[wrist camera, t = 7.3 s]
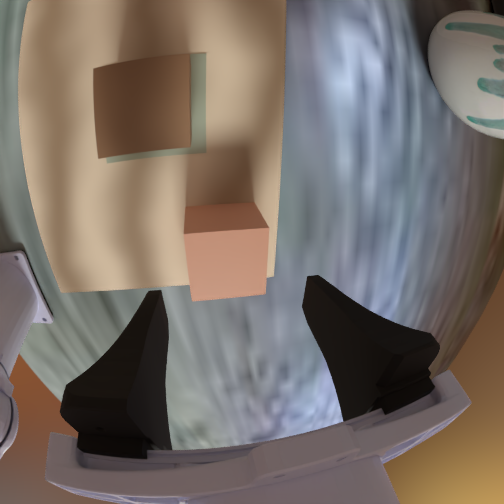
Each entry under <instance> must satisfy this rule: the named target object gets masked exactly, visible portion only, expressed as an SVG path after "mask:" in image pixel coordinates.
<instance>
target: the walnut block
mask: <svg viewBox="0 0 504 504" xmlns="http://www.w3.org/2000/svg"><path fill="white" fill-rule="evenodd" d="M93 101H94V121H95V134H96V144H97V154H98V159H101V158H107V157H113V156H119V155H126V154H133V153H140V152H148V151H157V150H166V149H177V148H188V147H191V140H192V125H191V60H190V53H189V54H176V55H166V56H157V57H149V58H143V59H136V60H130V61H125V62H120V63H115V64H110V65H106V66H101V67H97V68H93Z"/></svg>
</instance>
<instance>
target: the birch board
mask: <svg viewBox="0 0 504 504" xmlns="http://www.w3.org/2000/svg"><path fill="white" fill-rule="evenodd" d="M285 49H286V0H32V1H30V2H28V5H27V10H26V15H25V20H24V26H23V33H22V40H21V49H20V60H19V81H18V101H19V123H20V135H21V144H22V152H23V160H24V166H25V172H26V178H27V183H28V188H29V193H30V197H31V202H32V206H33V210H34V214H35V218H36V221H37V225H38V228H39V232H40V235H41V238H42V242H43V245H44V248H45V251H46V254H47V257H48V260H49V262H50V265H51V268H52V270H53V273H54V276H55V278H56V281H57V283H58V286H59V288H60V291H61V293H67V292H87V291H106V290H122V289H137V288H152V287H165V286H178V285H190V283H189V276H188V268H187V260H186V251H185V242H184V219H185V207H188V206H201V205H215V204H231V203H250V202H255V204H256V206H257V207H258V209H259V211H260V212H261V214H262V216H263V218H264V219H265V221H266V223H267V225H268V226H269V244H268V261H267V277H274V265H275V252H276V238H277V223H278V208H279V192H280V175H281V156H282V136H283V113H284V86H285ZM189 53H190V60H191V125H192V140H191V147H188V148H177V149H166V150H157V151H148V152H140V153H133V154H126V155H119V156H113V157H107V158H101V159H98V154H97V144H96V134H95V121H94V101H93V68H97V67H101V66H106V65H110V64H115V63H120V62H125V61H130V60H136V59H143V58H149V57H157V56H166V55H176V54H189Z"/></svg>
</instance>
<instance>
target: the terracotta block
mask: <svg viewBox="0 0 504 504" xmlns="http://www.w3.org/2000/svg"><path fill="white" fill-rule="evenodd" d="M184 242H185V251H186V260H187V268H188V276H189V283H190V290H191V297H192V301H202V300H213V299H223V298H234V297H243V296H253V295H262V294H265V293H266V277H267V261H268V244H269V226H268V225H267V223H266V221H265V219H264V218H263V216H262V214H261V212H260V211H259V209H258V207H257V206H256V204H255V202H250V203H231V204H215V205H201V206H188V207H185V219H184Z"/></svg>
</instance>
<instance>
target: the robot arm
mask: <svg viewBox="0 0 504 504" xmlns="http://www.w3.org/2000/svg"><path fill="white" fill-rule="evenodd" d="M17 256H18V257H17ZM302 308H303V311H304V314H305V317H306V320H307V323H308V325H309V327H310V329H311V331H312V333H313V335H314V337H315V339H316V341H317V343H318V345H319V347H320V349H321V351H322V353H323V355H324V358H325V360H326V362H327V365H328V368H329V371H330V374H331V376H332V380H333V383H334V386H335V389H336V393H337V396H338V400H339V404H340V408H341V412H342V417H343V422H341V423H338V424H335V425H331V426H328V427H325V428H321V429H318V430H314V431H310V432H306V433H302V434H298V435H294V436H289V437H285V438H280V439H275V440H270V441H264V442H259V443H252V444H246V445H239V446H231V447H221V448H210V449H196V450H172V446H171V439H170V432H169V424H168V415H167V404H166V387H165V378H166V364H167V352H168V341H169V330H168V318H167V314H166V309H165V305H164V301H163V296H162V292H161V290H155V291H148V293H147V294H146V296H145V298H144V300H143V301H142V303H141V305H140V306H139V308H138V310H137V311H136V313H135V315H134V316H133V318H132V319H131V321H130V322H129V324H128V325H127V327H126V328H125V330H124V331H123V332H122V334H121V335H120V336H119V338H118V339H117V340H116V342H115V343H114V344H113V345H112V346H111V347H110V349H109V350H108V351H107V352H106V353H105V354H104V355H103V356H102V357H101V358H100V359H99V360H98V361H97V362H96V363H95V364H93V365H92V366H91V367H90V368H89V369H88V370H86V371H85V372H84V373H83V374H81V375H80V376H78V377H77V378H76V379H74V380H73V381H71V382H70V383H68V384H67V385H66V388H65V390H64V394H63V399H62V403H61V409H60V413H61V416H62V417H63V418H64V420H65V421H66V422H67V423H69V424H70V425H71V426H72V427H73V428H74V429H75V430H76V431H77V432H79V433H78V439H77V438H75V437H73V436H69V435H64V434H59V433H54V432H51V433H50V439H49V445H48V453H47V461H46V472H45V480H46V481H48V482H50V483H52V484H54V485H56V486H58V487H60V488H63V489H65V490H67V491H70V492H72V493H75V494H77V495H82V496H86V497H90V498H95V499H100V500H105V501H110V502H116V503H121V504H400V503H399V500H398V498H397V496H396V493H395V491H394V489H393V487H392V484H391V482H390V480H389V477H388V475H387V473H386V471H385V468H384V466H383V463H385V462H387V461H389V460H391V459H393V458H395V457H397V456H399V455H401V454H402V453H404V452H406V451H407V450H409V449H411V448H413V447H414V446H416V445H418V444H420V443H421V442H423V441H424V440H426V439H428V438H429V437H431V436H432V435H434V434H435V433H437V432H439V431H440V430H442V429H443V428H444V427H446V426H447V425H448V424H449V423H451V422H452V421H453V420H454V419H455V418H456V417H457V416H459V415H460V414H461V413H462V412H463V411H464V410H465V409H466V408H467V407H468V406H469V405H470V404H471V401H470V399H469V398H468V396H467V394H466V393H465V392H464V390H463V388H462V387H461V386H460V384H459V383H458V381H457V380H456V378H455V377H454V375H453V374H452V373H451V371H450V370H447V371H445V372H444V373H442V374H440V375H438V376H436V377H435V378H434V379H432V380H431V379H430V378H429V376H430V375H431V372H430V371H429V369H428V368H429V366H430V365H431V363H432V362H433V361H434V359H435V358H436V356H437V354H438V352H439V350H440V345H439V343H438V342H437V341H436V339H435V338H434V337H433V336H432V334H431V333H427V332H423V331H419V330H415V329H412V328H409V327H406V326H403V325H400V324H397V323H395V322H392V321H390V320H388V319H385V318H383V317H381V316H379V315H377V314H375V313H373V312H372V311H370V310H368V309H366V308H365V307H363V306H361V305H360V304H358V303H357V302H355V301H354V300H352V299H351V298H349V297H348V296H346V295H345V294H344V293H342V292H341V291H339V290H338V289H337V288H335V287H334V286H333V285H331V284H330V283H329V282H327V281H326V280H325V279H323V278H322V277H320V276H319V275H314V276H307V281H306V287H305V293H304V299H303V304H302ZM52 322H53V316H52V314H51V312H50V310H49V308H48V306H47V304H46V302H45V300H44V298H43V296H42V294H41V291H40V289H39V287H38V285H37V282H36V280H35V277H34V275H33V273H32V270H31V268H30V265H29V262H28V260H27V257H26V255H25V253H24V252H23V251H13V252H5V253H0V459H1V457H2V455H3V454H4V453H5V451H6V450H7V449H8V448H9V447H10V446H11V445H12V443H13V441H14V439H15V437H16V434H17V430H18V408H17V404H16V402H15V400H14V399H13V398H12V396H11V395H12V392H13V388H14V386H13V385H12V384H11V383H10V381H9V377H10V375H11V372H12V369H13V366H14V364H15V361H16V359H17V356H18V354H19V351H20V349H21V347H22V344H23V342H24V340H25V337H26V335H27V333H28V331H29V329H30V326H31V324H32V323H52Z"/></svg>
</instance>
